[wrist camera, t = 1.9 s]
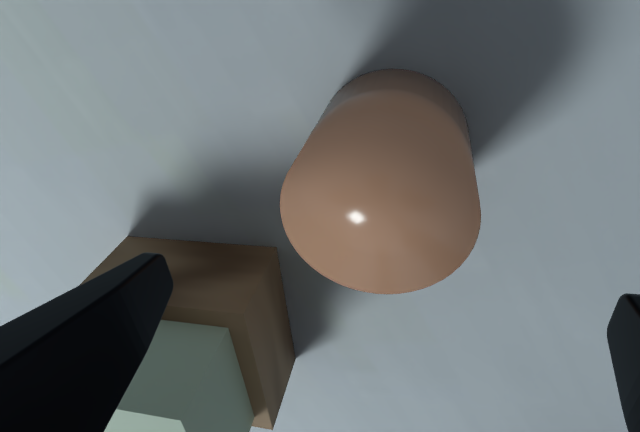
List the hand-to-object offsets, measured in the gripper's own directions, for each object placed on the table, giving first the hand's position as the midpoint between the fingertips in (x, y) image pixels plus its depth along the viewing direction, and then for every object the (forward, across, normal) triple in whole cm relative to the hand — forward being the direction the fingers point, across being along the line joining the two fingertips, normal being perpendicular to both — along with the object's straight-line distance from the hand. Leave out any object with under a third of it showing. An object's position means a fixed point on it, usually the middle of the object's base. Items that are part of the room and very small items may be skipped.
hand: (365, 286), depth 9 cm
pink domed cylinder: (+7, 0, 0) cm, 7 cm away
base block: (+7, +8, +8) cm, 13 cm away
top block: (+3, +8, +8) cm, 12 cm away
